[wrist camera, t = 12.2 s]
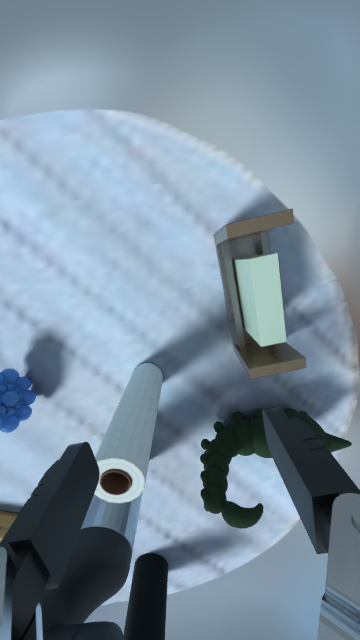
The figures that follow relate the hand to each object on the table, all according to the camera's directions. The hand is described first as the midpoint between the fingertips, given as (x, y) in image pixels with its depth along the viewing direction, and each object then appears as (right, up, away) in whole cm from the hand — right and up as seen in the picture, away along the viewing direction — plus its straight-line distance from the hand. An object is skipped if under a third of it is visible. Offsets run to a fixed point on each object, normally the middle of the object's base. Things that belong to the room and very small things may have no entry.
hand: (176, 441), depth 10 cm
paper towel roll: (-7, -6, +33) cm, 34 cm away
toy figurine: (+16, -15, +35) cm, 42 cm away
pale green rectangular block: (+12, +10, +27) cm, 31 cm away
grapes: (-31, -7, +34) cm, 46 cm away
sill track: (+12, +10, +28) cm, 32 cm away
